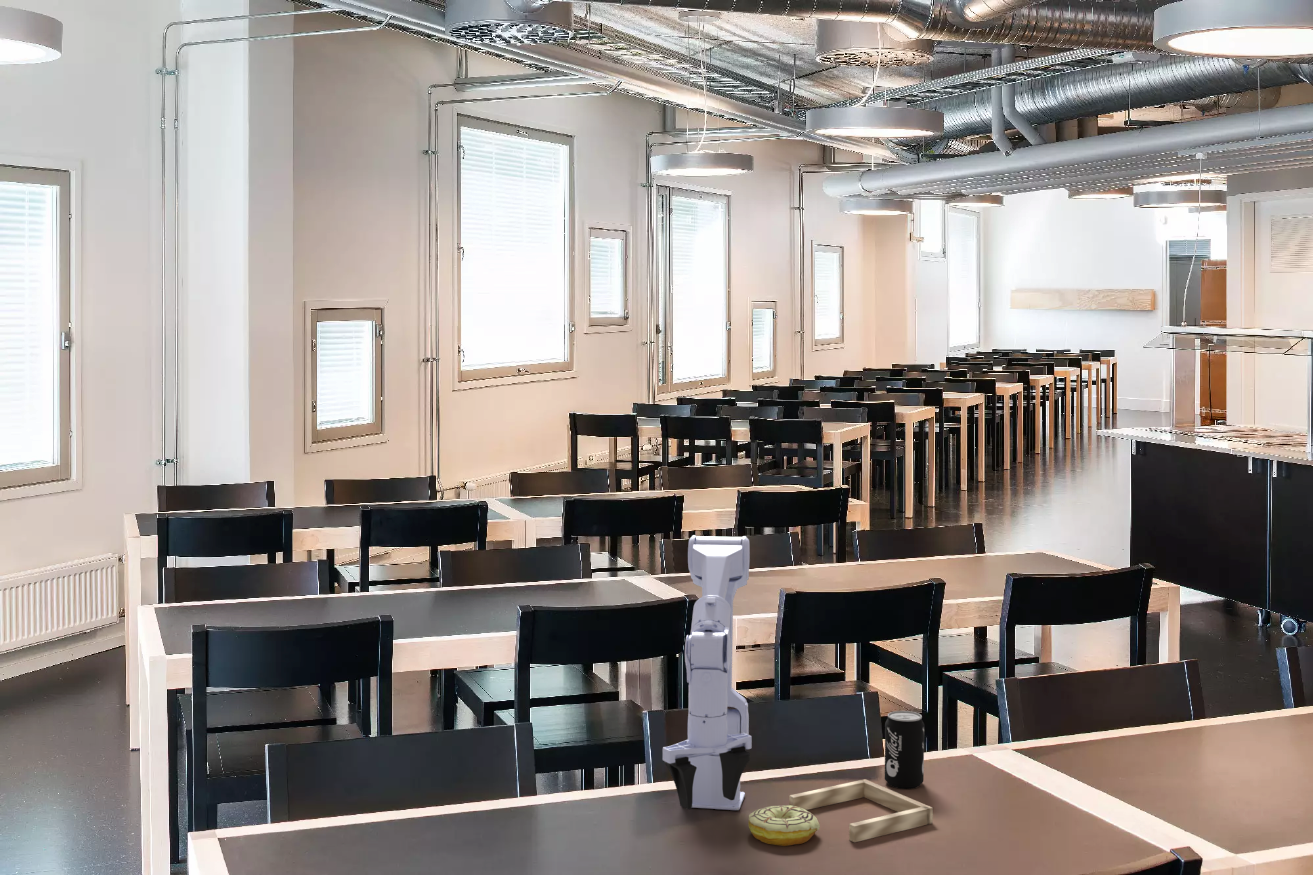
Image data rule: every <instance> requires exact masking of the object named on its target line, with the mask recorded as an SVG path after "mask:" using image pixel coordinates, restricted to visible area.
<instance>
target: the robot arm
mask: <svg viewBox="0 0 1313 875" xmlns="http://www.w3.org/2000/svg"><path fill="white" fill-rule="evenodd" d="M750 555H751V554H750V538H748V537H747V536H746V535H743V536H707V535H706V536H704V535H703V536H702V535H701V536H700V535H699V536H698V535H695V534H693V535H691V537H690V538H689V539H688V547H687V564H688V565H687V566H688V571H689V574H690V575H689V576H690V579H691V580H692V583H693V585H696V586H697V587H700V588H701V595H702V596H701V597H700V598H698V599H697V600H696V601H695V602H694V605H693V610H692V617H691V618H692V620H691V627H690V634H687V635H686V637H685V644H684V662H685V668H686V682H687V684H688V714H687V715H688V716H687V739H685V740H683V741H680V742H678V743H674V744H672V745H669V746H663V747H662V761H664V764H665V766H666V768H667V769H668V771H669V773H670V775H671V778H672V780H673V782H674V786H675V789H676V792H677V796H678V799H679V804H680V807H681V808H683V809H685V810H691V809H692V808H693V809H694V808H698V809H711V810H713V809H715V810H724V811H725V810H727V811H729V810H730V811H739V810H740V809H741V807H742V804H743V801H744V799H745V795H746V793H745V792H744V791H741V777H742V775H743V772H744V770H745V769H746V766H747V765H748V763H749V762H750V760H751V753H750V752H749V751H747V750H750V749H752V747H753V746H752V743H753V742H752V735H750V734H749V732H750V730H749V729H750V728H749V725H750V723H749V721H750V720H749V719H750V718H749V717H750V716H749V703H748V702H747V699H746V698H745V697H744V696H743V695H741V694H740V693H739V692H738V691H736V690H735V689H734V688H733V686H732V684H733V641H734V640H733V636H734V635H733V634H734V632H733V630H734V628H733V627H734V626H733V625H734V624H733V622H734V621H733V620H734V599H735V596H736V593H737V590H738V589H740V588H742V587H745V586H747V585H748V580H749V574H750V561H751V559H750ZM728 707H729V708H730V707H731V708H732V709H731V708H730V709H729V708H728ZM733 708H735V709H733Z"/></svg>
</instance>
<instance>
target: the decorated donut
mask: <svg viewBox="0 0 1313 875" xmlns="http://www.w3.org/2000/svg"><path fill="white" fill-rule="evenodd" d="M747 825H748V828H749V831H750V833H751V835H752V837H754V838H755V839H757V841H758V840H759V841H760V842H762V843H765V844H768V845H774V846H783V847H787V846H794V845H801V844H804V843H806V842H808V841H809V840H811V838H812V837H813V836H814V835H815V834H816V832H817V831H819V829H820V823H819V821H818V818H817V817H816V816H815V815H814V814H813V813H811V812H810V811H808V810H805V809H803V808H799V807H797V806H791V805H789V804H788V805H770V806H765V807H762V808H758V809H756V810H754V811H753V812H751V813H749V815H748V824H747Z"/></svg>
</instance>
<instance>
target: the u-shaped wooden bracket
mask: <svg viewBox="0 0 1313 875" xmlns="http://www.w3.org/2000/svg"><path fill="white" fill-rule="evenodd" d="M788 798H789V799H788V805H791V806H797V807H799V808H803V809H805V810H807V811H808V810H812V809H817V808H820V807H826V806H831V805H835V804H838V803H844V802H848V801H852V800H856V799H861V798H865V799H867V800H870V801H871V802H874V803H877V804H879V805H881V806H884V807H886V808H888V809H891V810H892V811H895V813H890V814H885V815H882V816H878V817H872V818H869V819H865V820H864V819H863V820H860V821H857V822H856V821H855V822H852V823H851V822H850V823H849V825H848V827H849V828H848V829H849V831H848V832H849V833H848V838H849V839H848V840H849V841H850V842H853V843H857V842H861V841H866V840H870V839H873V838H878V837H881V836H886V835H890V834H891V835H892V834H895V833H898V832H902V831H906V830H910V829H915V828H918V827H923V826H926V825H931V824H933V813H934V812H933V809H934V808H933V807H932V806H930V805H927V804H925V803H922V802H920V801H918V800H915V799H913V798H910V797H909V796H905V795H904V794H901V793H899V792H897V791H895V790H891V789H890V788H887V787H884V786H882V785H880V784H877V783H875V782H873V781H871V780H868V779H866V778H865V779H859V780H855V781H851V782H845V783H839V784H837V785H832V786H826V787H822V788H818V789H817V788H816V789H814V790H813V789H812V790H809V791H804V792H799V793H795V794H790V795H789V796H788Z"/></svg>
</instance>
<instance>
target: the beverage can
mask: <svg viewBox="0 0 1313 875" xmlns="http://www.w3.org/2000/svg"><path fill="white" fill-rule="evenodd" d="M922 718H923V716H922V714H920V713H919V712H916V711H911V710H910V711H909V710H893V711H890V712H889V713H887V719H886V721H885V722H884V727H885V728H884V780H885V782H886V783H887V784H888V786H890V787H893V788H895V789H900V790H901V789H902V790H912V789H917V788H919V787H920V786H921V785H922V784H923V782H924V775H925V774H924V773H925V772H924V771H925V770H924V768H925V766H924V764H925V763H924V762H925V761H924V759H925V723H924V721H923V720H922Z"/></svg>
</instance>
